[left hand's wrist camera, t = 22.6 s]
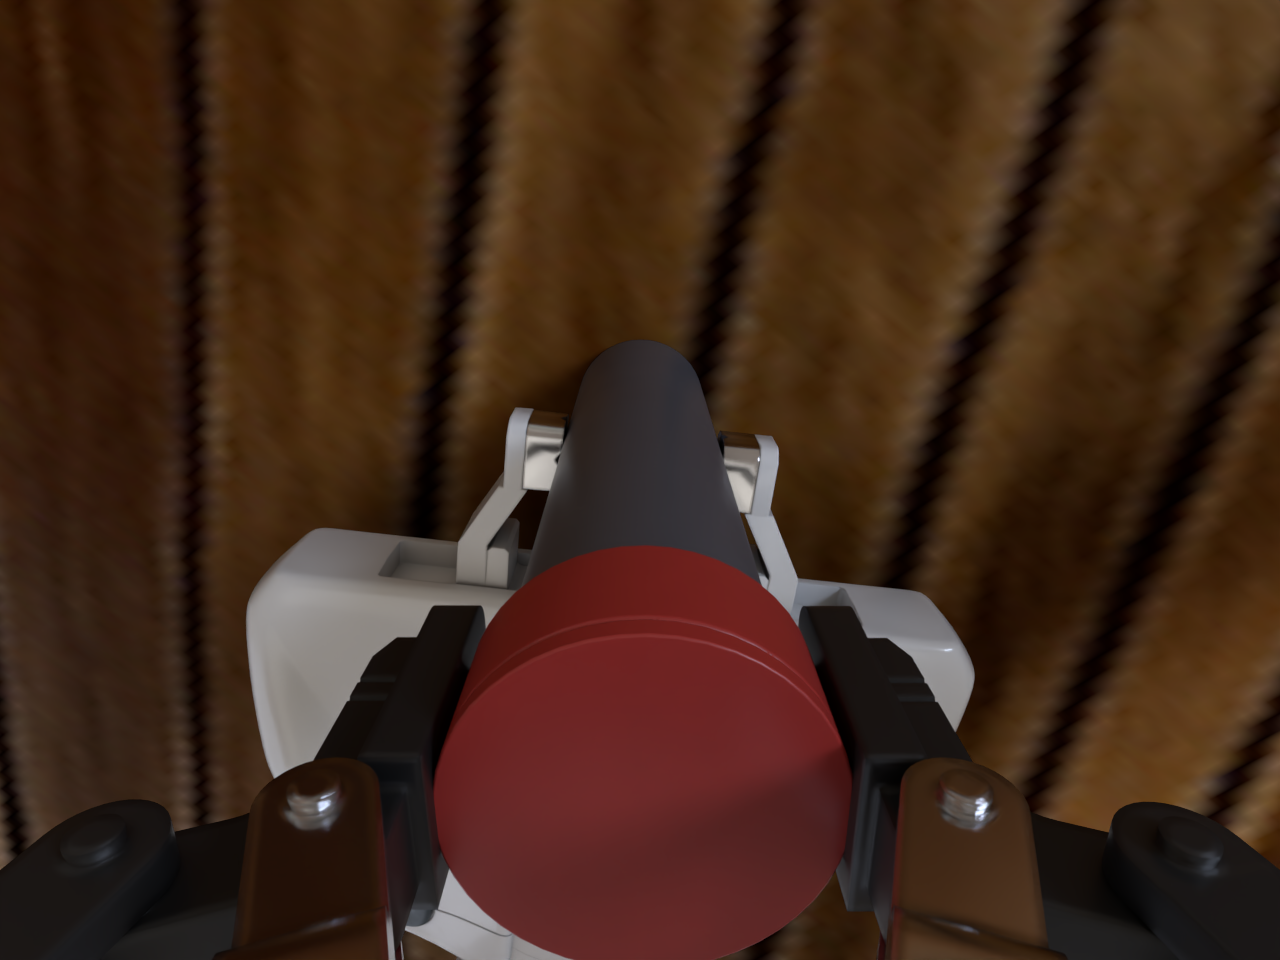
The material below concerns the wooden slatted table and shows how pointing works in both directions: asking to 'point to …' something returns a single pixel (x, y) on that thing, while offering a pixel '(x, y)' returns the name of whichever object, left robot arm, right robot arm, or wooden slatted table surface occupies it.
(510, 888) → the lid
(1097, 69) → the wooden slatted table surface
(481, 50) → the wooden slatted table surface
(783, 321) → the wooden slatted table surface
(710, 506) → the dark gray cylinder
